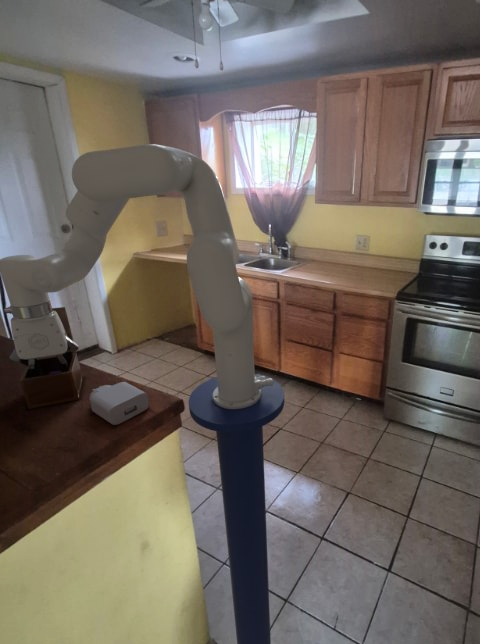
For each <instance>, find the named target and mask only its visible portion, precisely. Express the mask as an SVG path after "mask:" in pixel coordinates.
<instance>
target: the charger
mask: <svg viewBox="0 0 480 644" xmlns="http://www.w3.org/2000/svg"><path fill="white" fill-rule="evenodd" d="M91 391H92V392H91V393H90V394H89V404H90V409H91V411H92V412H93V413H94V414H96V415H97V416H99V417H101V418H102V419H103V420H105V421H107V422H108V423H110V424H111V425H112V426H117V425H120V424H122V423H124V422H126V421H127V420H129V419H131V418H133V417H135V416H137V415H139V414H140V413H142V412H145V411H146V410H147V409H148V408H149V407H150V403H149V396H148V393H147V392H145V391H143V390H141V389H139V388H138V387H136V386H134V385H132V384H130V383H129V382H126V381H120V382H118V383H116V384H113V385H111V384H110V385H109V384H104V385H99V386H98V387H97V388H92V389H91Z"/></svg>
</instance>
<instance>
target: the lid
mask: <svg viewBox="0 0 480 644" xmlns="http://www.w3.org/2000/svg"><path fill="white" fill-rule="evenodd" d="M52 310H53V311H56V312H57V314H58V316H59V318H60V320H61V322H62V324H63V327H64V329H65V332H66V335H67V337H68V338H69V339H71V340H72V341H73V342H75V340H74V337H73V333H72V329H71V325H70V321H69V317H68V314H67V313H68V312H67V309H66V306H61V307H52ZM69 349H70V347H69V346H68V349H67V350H69ZM66 352H67V351H66ZM66 352H65V353H66Z"/></svg>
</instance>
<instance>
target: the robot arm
mask: <svg viewBox="0 0 480 644" xmlns="http://www.w3.org/2000/svg"><path fill="white" fill-rule="evenodd" d="M71 179H72V182H73V185H74V187H75V189H76V190H77V191H76V193H75V194H74V196H73V197H72V199H71V201H70V203H69V204H68V206H67V207H66V210H65V216H66V219H67V220H68V221H69V223H70V224H71V225H72V226H73V229H72V232H71V235H70V236H69V239H68V240H67V241H66V243H65V245H64V247H63V248H62V249H61V251H58V252H55V253H53V254H49V255H47V256H43V257H41V258H37V257H36V256H34V255H30V254H17V255H10V256H5V257H2V258H0V277H1V280H2V283H3V287H4V290H5V292H6V295H7V299H8V301H9V304H10V306H7V307H4V308H3V310H4V314H11V315H12V317H11V318H10V329H11V334H12V340H13V344H14V348H13V351H12V352H11V354H10V356H9V360H11V361H15V362H17V363H20V364H22V365H23V366H25V367H26V366H28V367H29V368H30V369H32V372H33V375H34V377H37V376H43V372H42V369H41V365H40V364H39V363H38V362H37V359H39V358H45V357H52V356H57V358H58V359H59V362H60V363H59V368H60V371H61V372H68V371H69V368H68V364H67V360H68V359H69V358H70V357H71V355H72V354H73V353H77V351H78V350H79V348H80V345H79V344H77V343H76V342H75V341H74V342H73V341H72V340H71V339H69V338H68V337H67V335H66V332H65V329H64V327H63V324H62V322H61V320H60V318H59V316H58V314H57V312H56V311H53V310H52V308H53V306H52V303H51V299H50V294H49V293H58V292H60V291H62V290H65V289H66V288H67V289H68V287H70V286H72V285H74V284H76V283H78V282H80V281H82V280H83V279H85V278H86V277H87V276H88V275H89V274H90V273H91V270H92V269H93V268H94V266H95V264H96V263H97V262H98V260H99V259H100V257H101V255H102V253H103V251H104V248H105V246H106V241H107V237H108V236H107V235H108V233H109V232H110V231H111V228H112V227H113V225H114V224H115V222H116V221H117V220H118V218H119V216H120V215H121V213H122V211H123V210H124V208H125V207H126V205H127V204H128V202H129V201H130V199H137V198H143V197H151V196H161V195H169V194H174V193H179V194H180V195H181V196H182V198H183V200H184V204H185V211H186V215H187V218H188V223H189V224H190V228H191V232H192V236H193V241H192V242H191V244H190V245H189V246H188V249H187V253H186V268H187V273H188V275H189V279H190V281H191V285H192V288H193V292H194V296H195V298H196V302H197V305H198V308H199V311H200V314H201V316H202V319H203V321H205V323H206V324H207V325H208V326H209V327H210V328H211V329H212V335H213V349H214V360H215V370H216V377H217V383H218V387H217V388H216V389H215V390H214V392H213V395H212V396H213V401H214V403H215V404H217V405H218V406H220V407H222V408H226V409H242V408H246V407H249V406H251V405H253V404H255V403H256V402H258V401H259V399H260V398H261V389H262V387H267V386H272V385H273V380H274V379H273V378H271V377H269V378H270V379H265V376H266V375H264V376H261V377H257V378H256V377H255V374H256V372H255V352H254V349H255V348H254V316H253V315H254V312H253V311H254V302H253V301H254V298H253V292H252V290H251V287H250V286H249V284H248V283H247V282H246V280H244V279H243V278H241V277H239V273H238V270H237V264H238V261H239V258H240V250H239V246H238V242H237V239H236V236H235V232H234V228H233V225H232V220H231V217H230V213H229V210H228V207H227V201H226V199H225V195H224V192H223V188H222V185H221V182H220V181H219V180H220V179H218V176H217V175H216V173H215V171H214V170H213V168H212V167H211V166H210V165H209V164H208V163H207V162H206V161H205V160H204V159H202V158H201V157H199V156H197V155H195V154H193V153H191V152H188V151H186V150H183V149H179V148H176V147H173V146H168V145H167V146H166V145H162V144H156V143H147V144H139V145H132V146H125V147H118V148H111V149H104V150H103V149H102V150H95V151H94V150H93V151H88V152H85V153H83V154H81V155H80V156H78V157H77V159H76V160H75V161H74V162H73V165H72V168H71ZM68 346H69V347H70V349H69V350H67V349H68ZM66 351H67V352H66ZM65 352H66V353H65ZM272 379H273V380H272Z"/></svg>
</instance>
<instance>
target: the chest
mask: <svg viewBox="0 0 480 644" xmlns="http://www.w3.org/2000/svg"><path fill="white" fill-rule="evenodd" d="M37 362H38V363H39V364H40V365H41V369H42V372H43V376H37V377H34V375H33V372H32V369H30V368H29V367H28V366H26V365H25V369H24V371H23V372H22V374H21V377H20V379H19V385H20V387H21V390H22V393H23V396H24V399H25V403H26V405H27V409H28V410H30V409H31V410H32V409H36V408H41V407H47V406H50V405H51V406H52V405H57V404H61V403H67V402H72V401H78V400H80V396H81V390H82V385H83V380H84V379H83V378H84V376H83V373H82V369H81V365H80V361H79V357H78V354H77V352H75V353H73V354H72V355H71V357H70V358H69V359H68V360H67V364H68V368H69V371H68V372H61V373H55V374H49V372H54V371H60V368H59V363H60V362H59V359H58V358H57V356H56V355H54V356H48V357H42V358H37Z"/></svg>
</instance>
